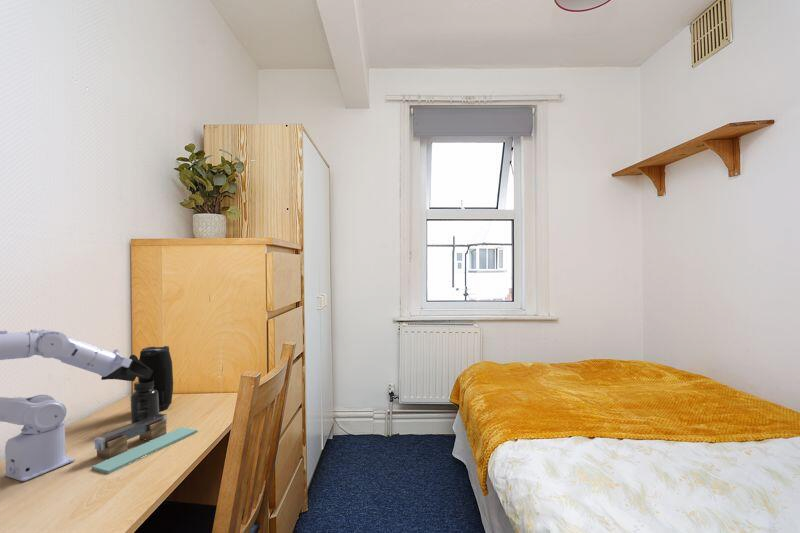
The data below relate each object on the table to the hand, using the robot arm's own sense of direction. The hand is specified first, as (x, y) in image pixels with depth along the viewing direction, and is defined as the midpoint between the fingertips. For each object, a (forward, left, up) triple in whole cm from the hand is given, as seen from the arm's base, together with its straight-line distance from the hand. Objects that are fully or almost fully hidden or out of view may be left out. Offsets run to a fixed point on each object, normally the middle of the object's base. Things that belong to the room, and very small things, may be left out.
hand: (143, 376), depth 104 cm
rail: (-6, -4, -13) cm, 15 cm away
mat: (-6, -10, -16) cm, 20 cm away
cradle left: (-11, -4, -16) cm, 19 cm away
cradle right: (-1, -4, -16) cm, 16 cm away
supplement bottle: (+5, +8, -16) cm, 18 cm away
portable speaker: (+14, +16, -16) cm, 26 cm away
